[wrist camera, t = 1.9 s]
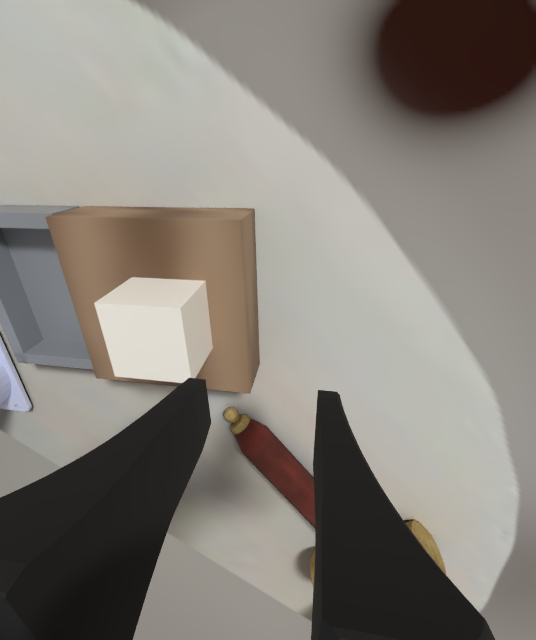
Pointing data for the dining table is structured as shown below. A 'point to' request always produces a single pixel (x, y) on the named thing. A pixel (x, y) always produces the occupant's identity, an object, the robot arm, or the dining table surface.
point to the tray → (37, 291)
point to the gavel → (296, 475)
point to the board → (167, 276)
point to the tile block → (156, 328)
